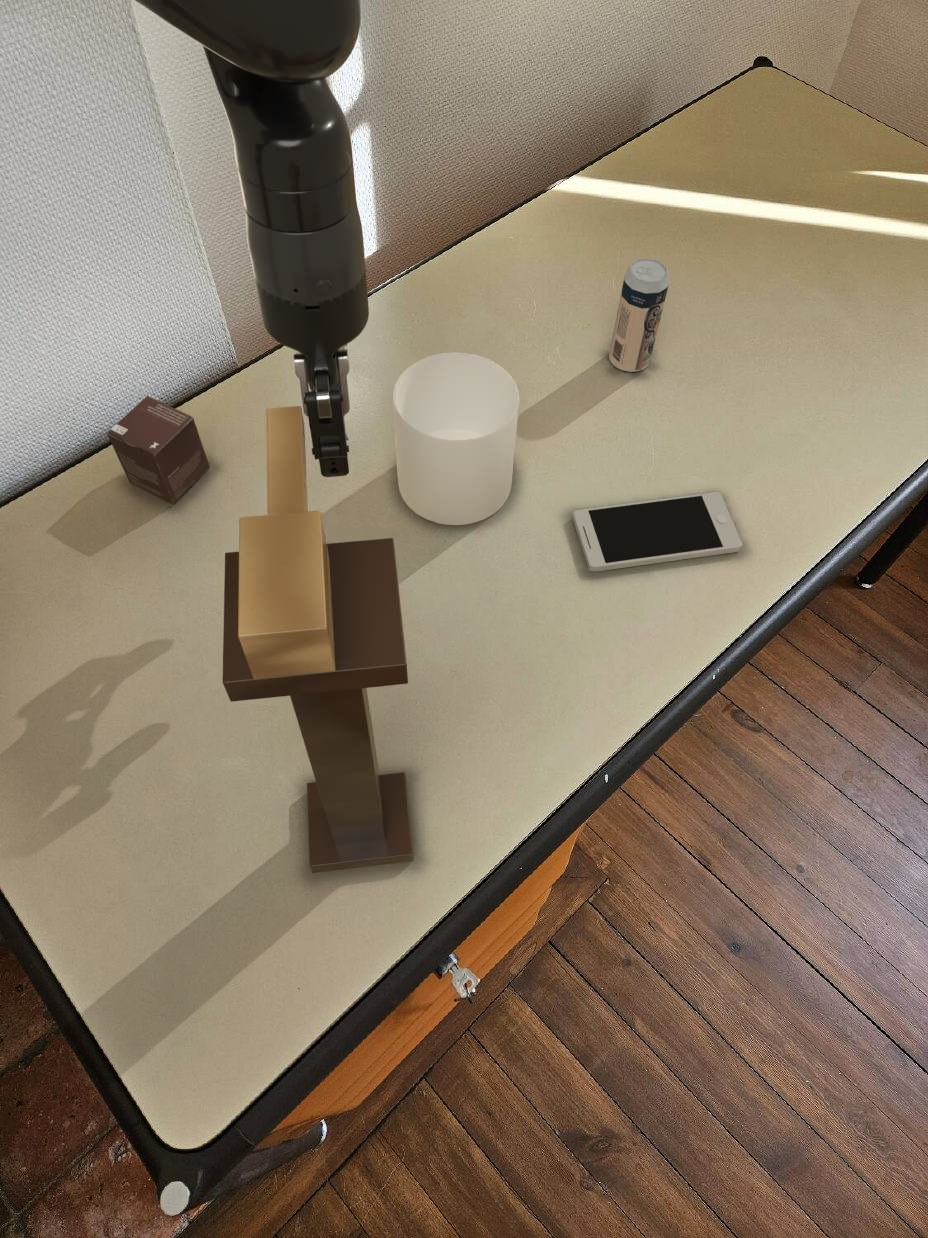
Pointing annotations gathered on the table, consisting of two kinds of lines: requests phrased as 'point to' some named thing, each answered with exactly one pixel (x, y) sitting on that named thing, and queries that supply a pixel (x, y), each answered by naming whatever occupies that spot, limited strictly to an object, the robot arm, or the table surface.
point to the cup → (455, 437)
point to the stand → (342, 708)
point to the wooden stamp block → (285, 565)
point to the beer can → (639, 314)
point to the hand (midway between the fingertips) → (332, 434)
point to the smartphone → (656, 531)
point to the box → (159, 449)
